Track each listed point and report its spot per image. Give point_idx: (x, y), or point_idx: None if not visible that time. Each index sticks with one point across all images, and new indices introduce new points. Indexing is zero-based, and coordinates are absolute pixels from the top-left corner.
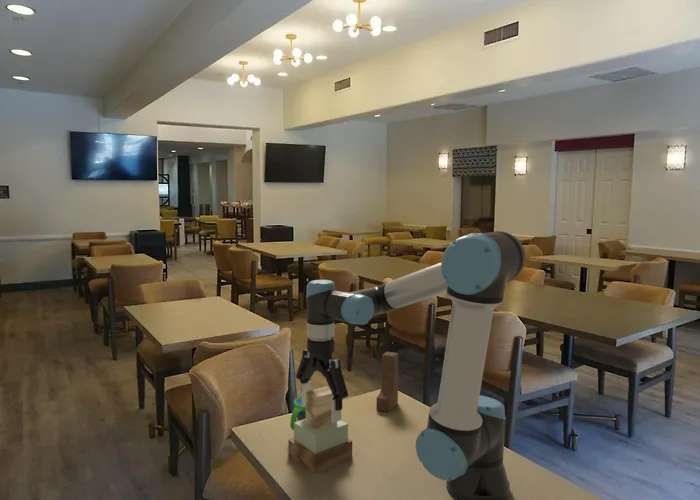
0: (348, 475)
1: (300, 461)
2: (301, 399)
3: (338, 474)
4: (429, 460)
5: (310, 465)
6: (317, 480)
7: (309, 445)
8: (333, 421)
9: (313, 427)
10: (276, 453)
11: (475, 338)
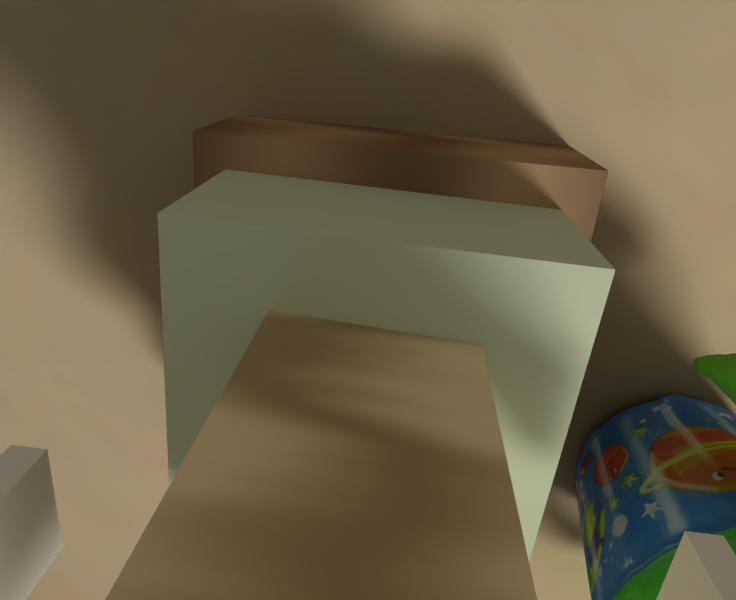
0: (79, 250)
1: (410, 133)
2: None
3: (124, 215)
4: None
5: (280, 124)
6: (146, 58)
7: (310, 189)
8: (2, 457)
9: (318, 322)
10: (675, 98)
11: None
